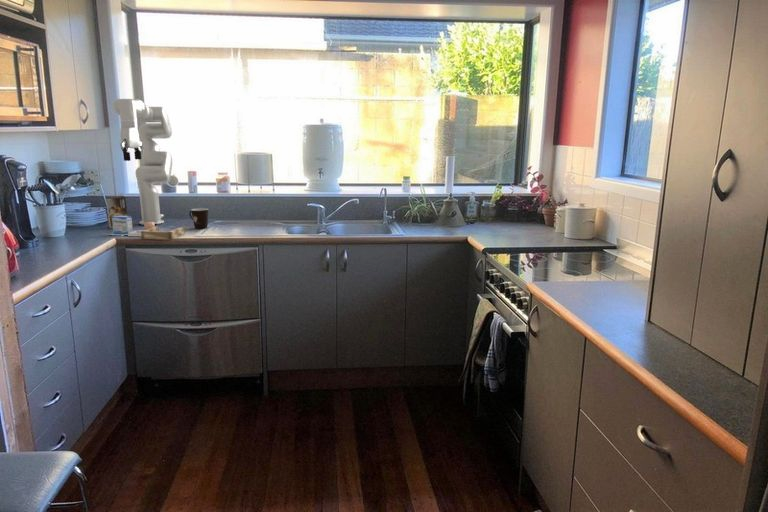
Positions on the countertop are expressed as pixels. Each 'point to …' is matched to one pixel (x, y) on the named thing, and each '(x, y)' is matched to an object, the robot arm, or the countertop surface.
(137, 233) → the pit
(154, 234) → the cubby
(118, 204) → the coffee box
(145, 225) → the peach rounded capsule
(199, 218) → the coffee mug
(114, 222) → the medicine box
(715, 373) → the countertop surface
